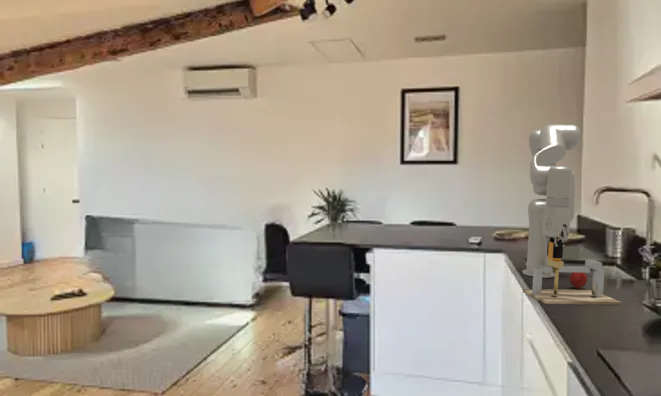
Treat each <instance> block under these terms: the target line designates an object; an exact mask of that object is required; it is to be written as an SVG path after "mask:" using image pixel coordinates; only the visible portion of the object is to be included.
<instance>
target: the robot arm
mask: <svg viewBox="0 0 661 396" xmlns="http://www.w3.org/2000/svg"><path fill="white" fill-rule="evenodd" d="M581 141H582V132H581V130H580V127H579V126H578V125H575V124H564V123H562V124H559V123H557V124H556V123H555V124H552V123H551V124H547V125H545V126H543V127H542V128H541V129H536V130H535V129H534V130H533V131H531V132H530V134H529V137H528V146H529V151H530V153H531V157H532V158H531V160H530V164H529V179H530V183H531V184H532V191H533V193H534V194H535V195H537V196H545V198H535V199H532V200H531V201H530V202H529V203H528V205H527V207H528V208H527V212H528V242H527V257H526V262H525V266H526V269H523V270H522V274H523V275H525V276H529V277H533V271H534V267H539V266H549V265H548V249H549V242H555V246H553V258H561V259H563V256H564V255H563V253H564V247H565V243H566V242H567V241H568V240H569V235H570V230H571V229H570V226H571V223H572V221H573V220H574V217H575V206H576V205H575V203H576V202H575V198H576V196H575V195H576V182H575V172H574V171H573V169H572V168H571V167H569V166H563V165H562V166H561V165H557V163H558V162H560V161H562V160H563V159H564V158H565V157H566V154H567V152H569V151H570V152H571V151H573V150H575V149H576V148H577V147H578V146H579V145H580V143H581ZM543 278H544V279H546V278H547V279H549V278H555V272H543V274H542V279H543Z"/></svg>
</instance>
